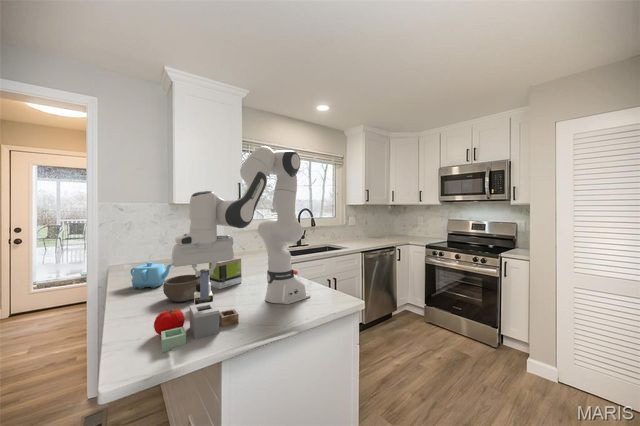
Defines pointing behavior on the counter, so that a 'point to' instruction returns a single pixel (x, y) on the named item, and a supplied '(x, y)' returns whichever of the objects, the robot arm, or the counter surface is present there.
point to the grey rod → (204, 284)
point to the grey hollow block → (204, 319)
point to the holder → (228, 318)
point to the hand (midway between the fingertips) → (204, 275)
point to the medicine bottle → (197, 295)
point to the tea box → (226, 273)
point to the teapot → (149, 275)
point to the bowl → (181, 287)
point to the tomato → (169, 320)
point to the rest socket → (172, 338)
